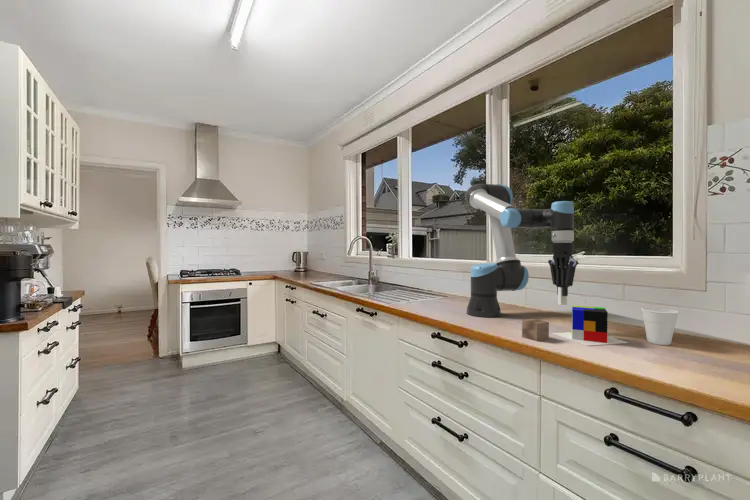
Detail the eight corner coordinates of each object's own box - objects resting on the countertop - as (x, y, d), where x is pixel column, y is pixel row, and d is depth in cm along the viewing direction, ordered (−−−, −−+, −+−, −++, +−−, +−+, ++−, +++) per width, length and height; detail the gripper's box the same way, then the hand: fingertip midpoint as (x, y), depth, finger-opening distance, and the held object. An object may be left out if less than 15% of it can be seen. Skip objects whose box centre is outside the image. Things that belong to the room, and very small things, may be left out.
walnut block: (522, 337, 125) (522, 320, 125) (533, 335, 128) (533, 318, 128) (536, 341, 120) (537, 323, 120) (548, 339, 123) (548, 321, 123)
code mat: (552, 333, 130) (552, 333, 130) (589, 331, 134) (589, 330, 134) (587, 345, 115) (587, 345, 115) (628, 343, 118) (628, 342, 118)
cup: (669, 349, 112) (669, 313, 111) (633, 341, 120) (634, 308, 120) (684, 345, 116) (685, 311, 116) (649, 337, 125) (650, 306, 125)
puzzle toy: (572, 339, 122) (572, 309, 122) (571, 332, 131) (572, 305, 131) (607, 342, 117) (607, 312, 117) (604, 336, 126) (604, 307, 126)
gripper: (542, 242, 142) (542, 302, 142) (566, 241, 129) (566, 307, 129) (558, 242, 143) (558, 301, 143) (584, 241, 131) (584, 306, 131)
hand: (562, 304), depth 136 cm, fingers closed
